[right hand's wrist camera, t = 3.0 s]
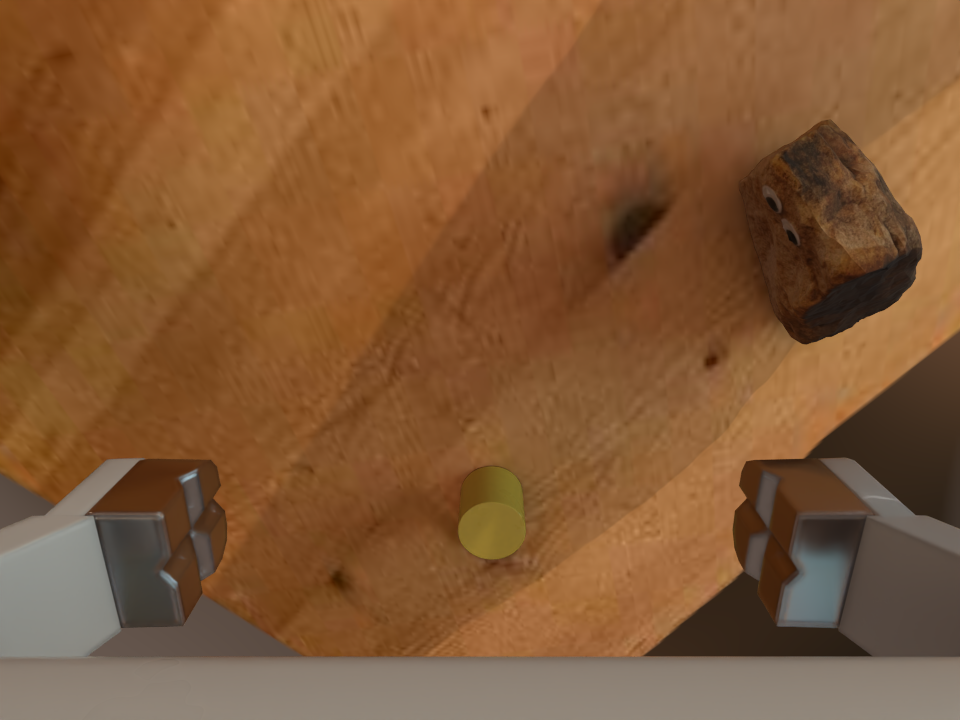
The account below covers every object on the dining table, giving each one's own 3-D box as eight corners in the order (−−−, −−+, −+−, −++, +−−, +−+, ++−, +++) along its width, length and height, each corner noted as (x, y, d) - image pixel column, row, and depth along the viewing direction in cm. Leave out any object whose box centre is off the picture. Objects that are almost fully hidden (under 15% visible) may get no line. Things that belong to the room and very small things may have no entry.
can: (489, 454, 40) (489, 489, 36) (535, 491, 41) (540, 529, 37) (447, 494, 41) (443, 533, 38) (493, 529, 42) (494, 571, 38)
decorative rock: (694, 154, 34) (782, 168, 24) (806, 96, 33) (948, 85, 23) (768, 345, 37) (872, 428, 27) (871, 298, 36) (1019, 367, 26)
